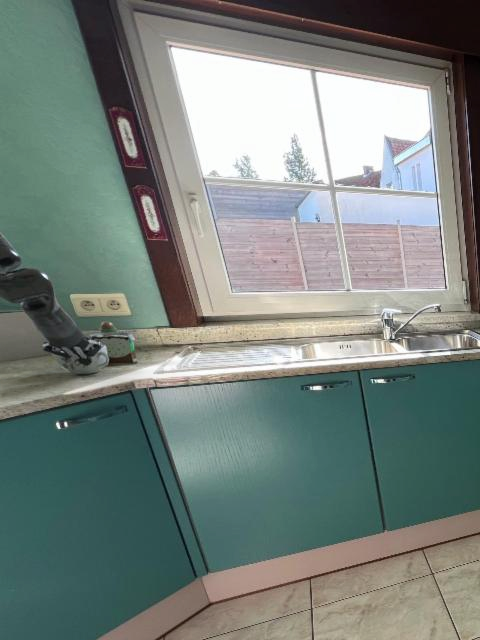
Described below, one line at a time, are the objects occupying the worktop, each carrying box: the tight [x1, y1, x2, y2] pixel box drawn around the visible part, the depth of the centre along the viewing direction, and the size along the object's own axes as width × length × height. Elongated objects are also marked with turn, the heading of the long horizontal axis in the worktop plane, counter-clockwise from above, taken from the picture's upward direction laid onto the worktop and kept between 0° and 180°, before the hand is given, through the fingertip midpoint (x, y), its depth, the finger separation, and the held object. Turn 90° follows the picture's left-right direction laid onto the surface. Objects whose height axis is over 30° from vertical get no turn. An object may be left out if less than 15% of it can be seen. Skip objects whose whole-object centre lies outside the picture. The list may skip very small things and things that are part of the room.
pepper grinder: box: [98, 320, 119, 333], centre depth 178 cm, size 5×5×12 cm
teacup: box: [50, 344, 109, 375], centre depth 154 cm, size 15×12×8 cm
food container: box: [88, 331, 138, 365], centre depth 169 cm, size 12×6×10 cm, turn 100°
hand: (87, 362), depth 151 cm, fingers closed
